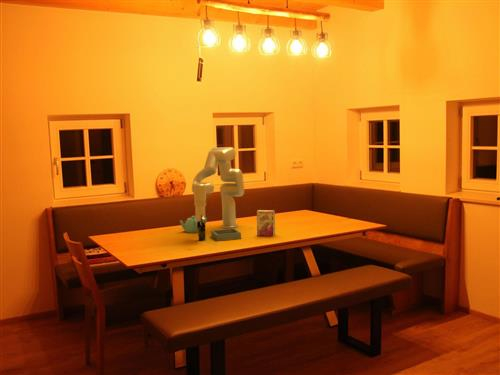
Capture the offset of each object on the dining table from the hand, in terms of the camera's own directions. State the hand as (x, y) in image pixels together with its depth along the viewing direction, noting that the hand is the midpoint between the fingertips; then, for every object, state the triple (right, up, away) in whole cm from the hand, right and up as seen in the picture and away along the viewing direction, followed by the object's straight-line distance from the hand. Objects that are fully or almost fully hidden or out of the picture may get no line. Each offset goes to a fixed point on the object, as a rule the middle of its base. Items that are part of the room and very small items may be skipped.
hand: (201, 229), depth 329 cm
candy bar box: (+42, -5, +9) cm, 43 cm away
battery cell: (0, -7, +1) cm, 7 cm away
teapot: (-8, -4, +33) cm, 34 cm away
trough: (+15, -6, +7) cm, 18 cm away
